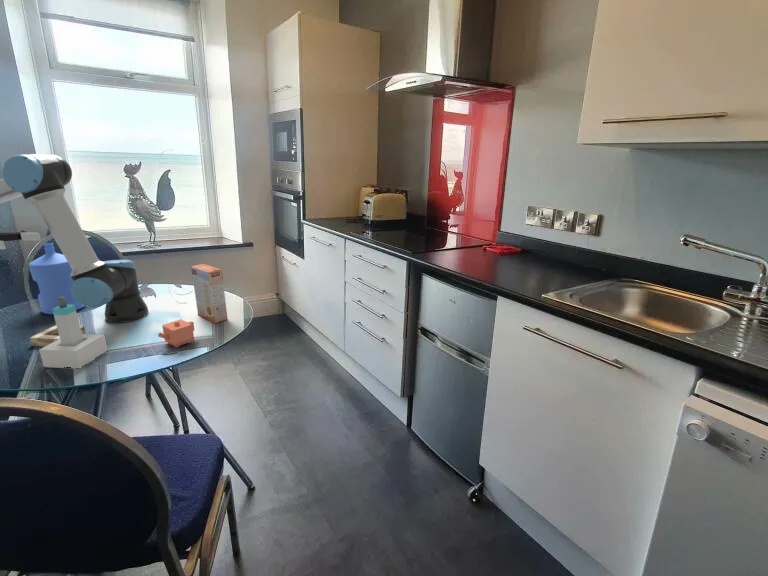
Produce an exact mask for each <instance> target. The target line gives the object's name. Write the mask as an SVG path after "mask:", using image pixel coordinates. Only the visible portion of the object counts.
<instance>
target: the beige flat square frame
mask: <svg viewBox="0 0 768 576" xmlns="http://www.w3.org/2000/svg"><path fill="white" fill-rule="evenodd" d="M80 328H81V332H82V334H87V332H86V329H85V328H86V327H85V326H84V325H80ZM58 339H60V336H59V333H58V329H57V325H56V324H55V325H53V326H52V327H51V326H50V327H49V328H47V329H45V330H44V331H40V332H39V333H37V334H35V335H32V336H31V337H29V340H30V344H31V347H45V346H47V345H49V344H51V343H53V342H55V341H57V340H58Z"/></svg>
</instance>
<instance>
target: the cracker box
mask: <svg viewBox="0 0 768 576" xmlns="http://www.w3.org/2000/svg"><path fill="white" fill-rule="evenodd" d="M190 268H191V275H192V280H193V281H192V282H193V289H194V294H195V296H194V297H195V303H196V311H197V315H198V316H199V317H202V318H204V319H206V321H209V322H211V323H213V324H217V323H220V322H224V321H227V320H228V313H227V305H226V304H227V303H226V296H225V295H226V294H225V288H224V279H223V270H222V269H220V268H218V267H214V266H212V265H209V264H205V263H200V264H196V265H192V266H190Z"/></svg>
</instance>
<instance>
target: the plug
mask: <svg viewBox="0 0 768 576" xmlns="http://www.w3.org/2000/svg"><path fill="white" fill-rule="evenodd" d="M58 302H59V306H58V307H55V308H53V309H52V310H53V314H52V315H53V317H54V322H55V325H57V329H58V333H59V336H60V340H61V344H62V346H76V345H78V344H79V343H81V342H83V341H84V340H83V336H82V332H81V328H80V326H81V325H80V321H79V318H78V317H79V316H78V313H77V310H76V308H75V305H69V304H66V300H65V297H59V298H58Z"/></svg>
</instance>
